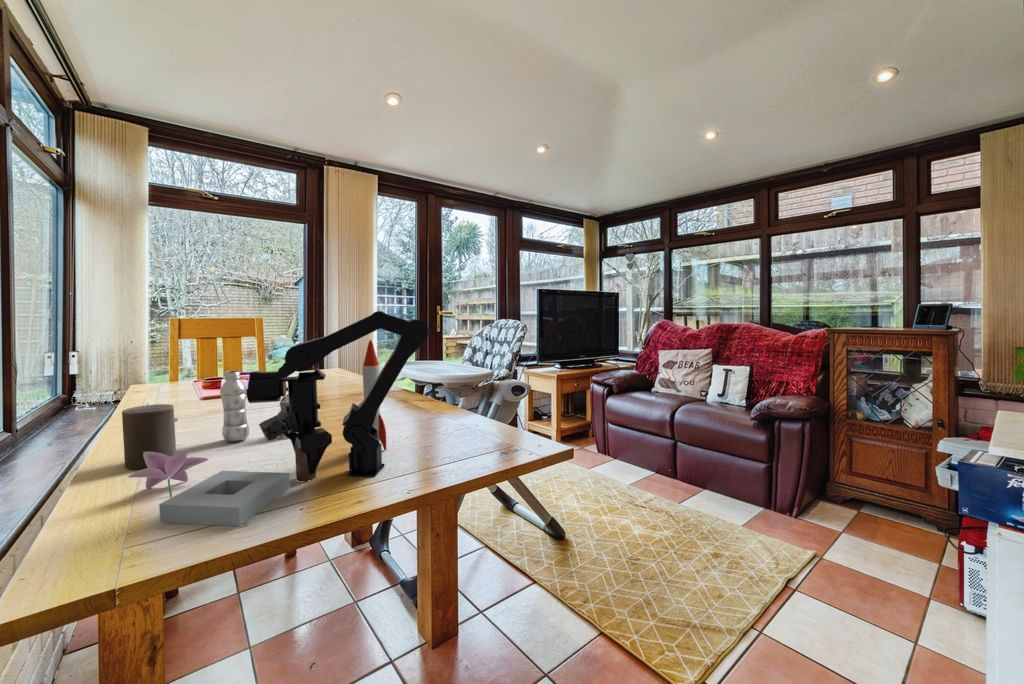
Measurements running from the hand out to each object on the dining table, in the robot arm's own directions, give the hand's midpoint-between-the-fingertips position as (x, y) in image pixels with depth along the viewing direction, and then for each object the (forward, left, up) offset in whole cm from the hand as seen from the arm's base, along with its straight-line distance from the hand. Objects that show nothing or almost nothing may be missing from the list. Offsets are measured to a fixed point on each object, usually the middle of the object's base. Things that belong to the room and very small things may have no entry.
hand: (305, 467), depth 94 cm
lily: (+25, +8, -3) cm, 27 cm away
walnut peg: (0, 0, -2) cm, 2 cm away
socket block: (+8, +13, -2) cm, 16 cm away
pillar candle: (+43, -6, -3) cm, 43 cm away
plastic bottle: (+34, -23, -3) cm, 41 cm away
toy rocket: (-8, -19, -3) cm, 21 cm away
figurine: (+22, -29, -3) cm, 37 cm away
